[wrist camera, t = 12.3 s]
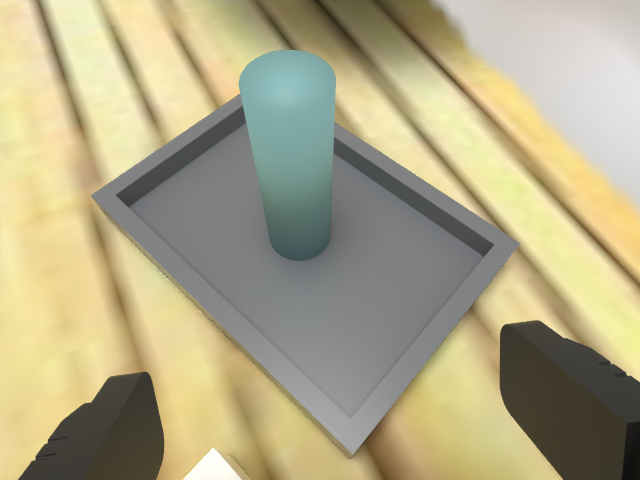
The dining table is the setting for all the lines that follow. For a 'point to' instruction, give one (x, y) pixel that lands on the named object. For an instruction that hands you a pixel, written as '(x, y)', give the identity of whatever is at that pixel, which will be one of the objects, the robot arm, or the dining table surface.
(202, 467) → the tray
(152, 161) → the tray
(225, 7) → the dining table surface
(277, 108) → the dowel
